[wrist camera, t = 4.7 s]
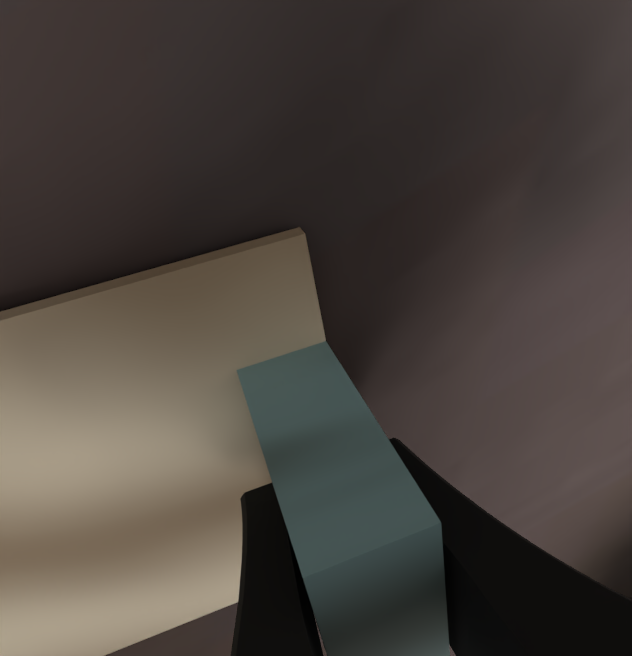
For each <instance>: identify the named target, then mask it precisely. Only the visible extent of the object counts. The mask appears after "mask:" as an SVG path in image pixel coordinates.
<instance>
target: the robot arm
mask: <svg viewBox="0 0 632 656" xmlns="http://www.w3.org/2000/svg"><path fill="white" fill-rule="evenodd" d="M389 441H390V443H391V444H392V446H393V447H394V449H395V450H396V452H397V454H398V455H399V457H400V458H401V460H402V461H403V463H404V465H405V466H406V468H407V469H408V471H409V473H410V474H411V476H412V477H413V479H414V480H415V482H416V484H417V485H418V487H419V488H420V490H421V491H422V493H423V495H424V496H425V498H426V499H427V501H428V502H429V504H430V506H431V507H432V509H433V510H434V512H435V513H436V515H437V517H438V518H439V520H440V521H441V527H442V542H443V558H444V573H445V588H446V604H447V619H448V635H449V644H450V646H451V648H452V649H453V651H454V653H455V654H456V656H632V600H631V599H629V598H627V597H625V596H623V595H621V594H619V593H617V592H615V591H613V590H611V589H609V588H607V587H606V586H604V585H602V584H600V583H599V582H597V581H595V580H593V579H591V578H590V577H588V576H586V575H584V574H582V573H581V572H579V571H577V570H575V569H574V568H572V567H570V566H569V565H567V564H565V563H564V562H562V561H560V560H559V559H557V558H555V557H553V556H552V555H550V554H549V553H547V552H545V551H544V550H542V549H541V548H539V547H537V546H536V545H534V544H533V543H531V542H530V541H528V540H527V539H525V538H524V537H522V536H521V535H519V534H518V533H516V532H515V531H513V530H512V529H510V528H509V527H507V526H506V525H504V524H503V523H501V522H500V521H499V520H497V519H496V518H494V517H493V516H492V515H490V514H489V513H487V512H486V511H485V510H483V509H482V508H481V507H479V506H478V505H477V504H475V503H474V502H473V501H471V500H470V499H469V498H467V497H466V496H465V495H463V494H462V493H461V492H459V491H458V490H457V489H456V488H454V487H453V486H452V485H451V484H449V483H448V482H447V481H446V480H444V479H443V478H442V477H441V476H439V475H438V474H437V473H436V472H435V471H433V470H432V469H431V468H430V467H429V466H428V465H426V464H425V463H424V462H423V461H422V460H421V459H419V458H418V457H417V456H416V455H415V454H414V453H413V452H412V451H410V450H409V449H408V448H407V447H406V446H405V445H404V444H403V443H402V442H401V441H400V440H398V439H396V438H392V439H389ZM240 501H241V509H242V563H241V575H240V587H239V599H238V608H237V616H236V623H235V630H234V637H233V644H232V652H231V656H323V652H322V648H321V643H320V639H319V635H318V630H317V626H316V622H315V617H314V613H313V609H312V606H311V603H310V599H309V596H308V593H307V590H306V587H305V584H304V581H303V577H302V574H301V571H300V568H299V565H298V562H297V559H296V555H295V552H294V549H293V546H292V543H291V540H290V537H289V533H288V530H287V527H286V524H285V521H284V518H283V515H282V511H281V508H280V505H279V502H278V499H277V496H276V493H275V490H274V486H273V483H269V484H266V485H264V486H261V487H258V488H256V489H253V490H250V491H247V492H245V493H244V494H243V495H242V497H241V498H240Z"/></svg>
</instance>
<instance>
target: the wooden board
mask: <svg viewBox="0 0 632 656" xmlns="http://www.w3.org/2000/svg"><path fill="white" fill-rule="evenodd" d="M269 483H273V486H274V490H275V493H276V496H277V499H278V502H279V505H280V508H281V511H282V515H283V518H284V521H285V524H286V527H287V530H288V533H289V537H290V540H291V543H292V546H293V549H294V552H295V555H296V559H297V562H298V565H299V568H300V571H301V574H302V577H303V581H304V584H305V587H306V590H307V593H308V596H309V599H310V603H311V606H312V609H313V612H314V615H315V618H316V622H317V625H318V628H319V631H320V634H321V637H322V640H323V643H324V647H325V650H326V653H327V656H450V650H449V635H448V619H447V604H446V588H445V573H444V558H443V542H442V527H441V521H440V520H439V518H438V517H437V515H436V513H435V512H434V510H433V509H432V507H431V506H430V504H429V502H428V501H427V499H426V498H425V496H424V495H423V493H422V491H421V490H420V488H419V487H418V485H417V484H416V482H415V480H414V479H413V477H412V476H411V474H410V473H409V471H408V469H407V468H406V466H405V465H404V463H403V461H402V460H401V458H400V457H399V455H398V454H397V452H396V450H395V449H394V447H393V446H392V444H391V443H390V441H389V439H388V438H387V436H386V435H385V433H384V432H383V430H382V428H381V427H380V425H379V424H378V422H377V421H376V419H375V417H374V416H373V414H372V413H371V411H370V409H369V408H368V406H367V405H366V403H365V402H364V400H363V398H362V397H361V395H360V394H359V392H358V391H357V389H356V387H355V386H354V384H353V383H352V381H351V380H350V378H349V376H348V375H347V373H346V372H345V370H344V369H343V367H342V365H341V364H340V362H339V361H338V359H337V357H336V356H335V354H334V353H333V351H332V350H331V348H330V346H329V345H328V343H327V342H326V338H325V333H324V328H323V323H322V318H321V312H320V307H319V302H318V297H317V292H316V287H315V282H314V276H313V271H312V266H311V261H310V256H309V251H308V246H307V240H306V235H305V233H304V232H303V231H302V229H301V228H300V227H298V228H294V229H291V230H287V231H284V232H280V233H277V234H273V235H270V236H266V237H263V238H259V239H256V240H252V241H248V242H245V243H241V244H238V245H234V246H231V247H227V248H224V249H220V250H217V251H213V252H210V253H206V254H202V255H199V256H195V257H192V258H188V259H185V260H181V261H178V262H174V263H171V264H167V265H164V266H160V267H156V268H153V269H149V270H146V271H142V272H139V273H135V274H132V275H128V276H125V277H121V278H118V279H114V280H110V281H107V282H103V283H100V284H96V285H93V286H89V287H86V288H82V289H79V290H75V291H72V292H68V293H65V294H61V295H57V296H54V297H50V298H47V299H43V300H40V301H36V302H33V303H29V304H26V305H22V306H19V307H15V308H11V309H8V310H4V311H1V312H0V656H104V655H107V654H109V653H112V652H114V651H117V650H119V649H122V648H124V647H127V646H129V645H132V644H134V643H137V642H139V641H142V640H144V639H147V638H149V637H152V636H154V635H157V634H159V633H162V632H164V631H167V630H169V629H172V628H174V627H177V626H179V625H182V624H184V623H187V622H189V621H192V620H194V619H197V618H199V617H202V616H204V615H207V614H209V613H212V612H214V611H217V610H219V609H222V608H224V607H227V606H229V605H232V604H234V603H237V602H238V599H239V587H240V575H241V563H242V509H241V501H240V498H241V497H242V495H243V494H244V493H245V492H247V491H250V490H253V489H256V488H258V487H261V486H264V485H266V484H269Z"/></svg>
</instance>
